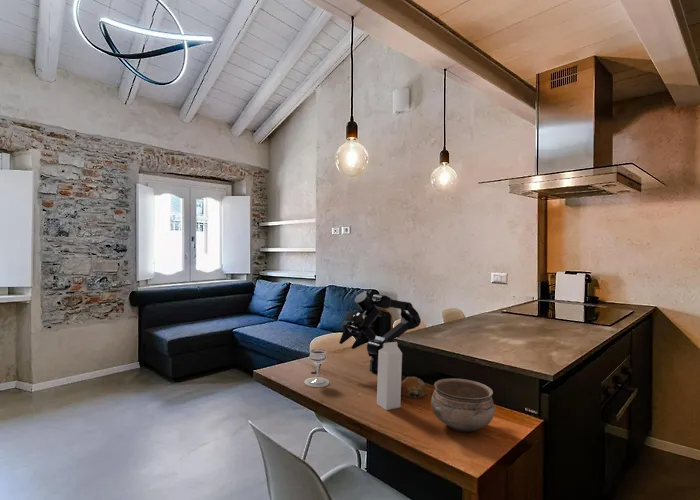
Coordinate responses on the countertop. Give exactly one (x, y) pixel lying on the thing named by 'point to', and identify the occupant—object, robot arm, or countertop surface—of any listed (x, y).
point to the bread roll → (413, 387)
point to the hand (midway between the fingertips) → (346, 345)
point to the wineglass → (317, 360)
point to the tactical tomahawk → (316, 371)
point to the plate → (311, 384)
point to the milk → (389, 376)
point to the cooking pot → (463, 404)
